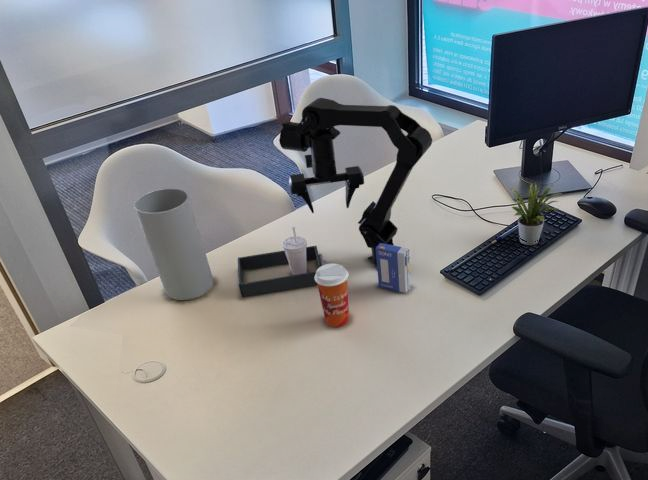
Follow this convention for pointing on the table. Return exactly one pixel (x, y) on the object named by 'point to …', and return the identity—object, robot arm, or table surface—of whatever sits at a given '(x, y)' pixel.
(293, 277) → the rectangular tray
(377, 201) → the robot arm
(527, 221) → the house plant
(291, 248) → the smoothie
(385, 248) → the walkman
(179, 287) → the cylinder vase
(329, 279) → the paper cup
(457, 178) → the table surface
